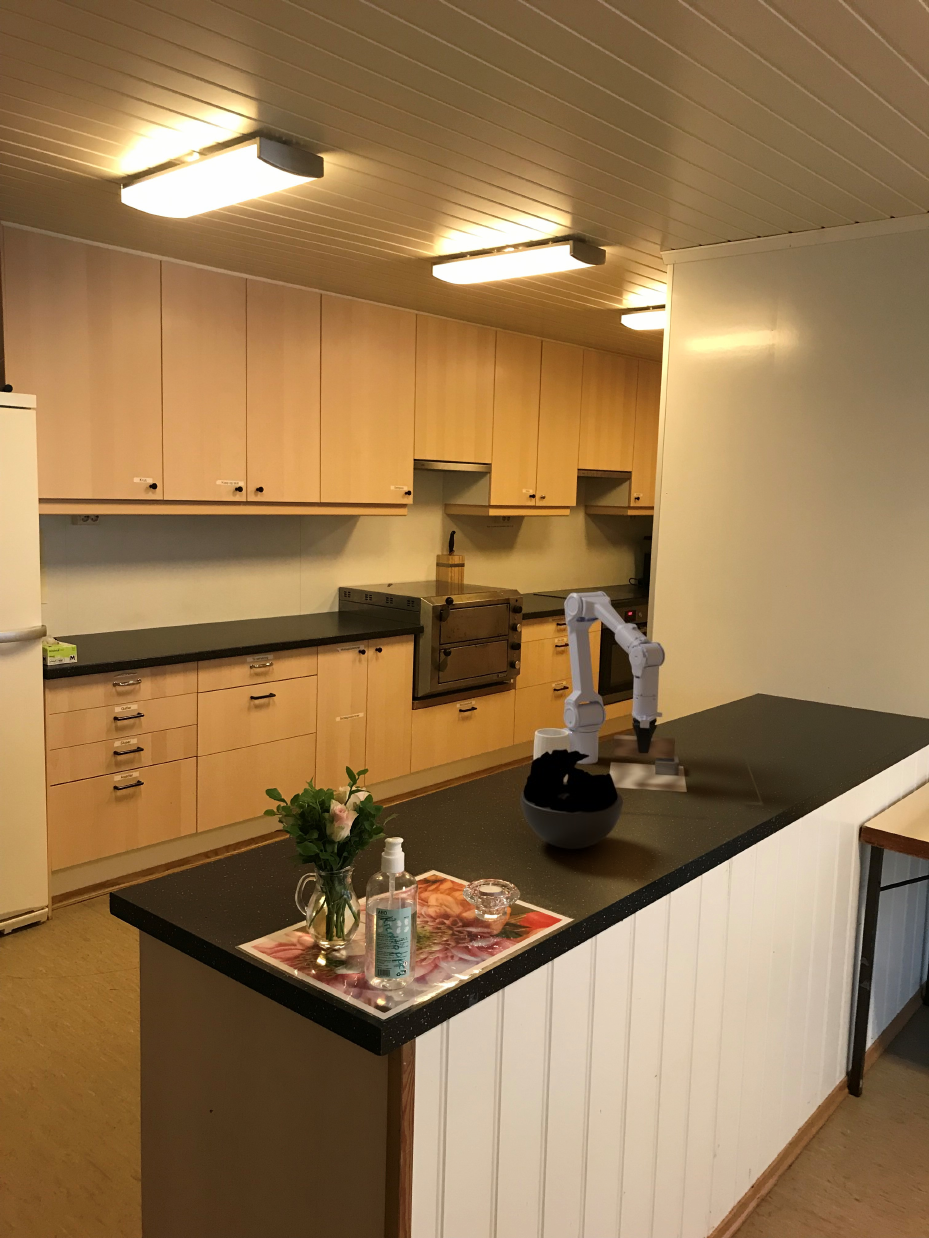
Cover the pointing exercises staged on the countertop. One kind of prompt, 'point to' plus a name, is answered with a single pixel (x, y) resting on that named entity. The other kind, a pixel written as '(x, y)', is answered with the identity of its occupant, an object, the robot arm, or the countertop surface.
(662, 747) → the rail
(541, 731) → the cup
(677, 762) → the bracket
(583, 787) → the bowl of black rocks
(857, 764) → the countertop surface
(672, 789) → the mounting board
